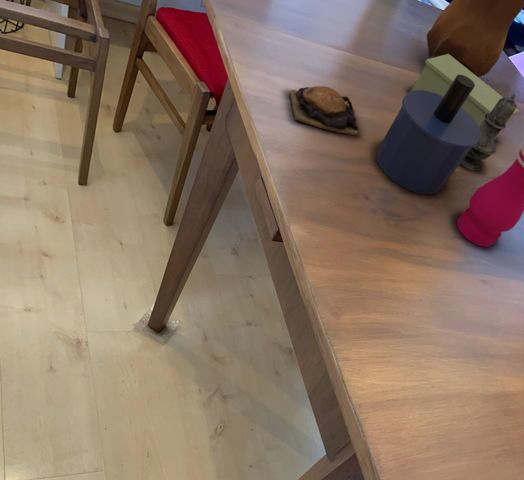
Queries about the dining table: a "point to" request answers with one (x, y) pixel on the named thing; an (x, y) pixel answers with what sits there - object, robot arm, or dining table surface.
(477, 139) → the lid
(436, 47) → the butternut squash
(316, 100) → the pastry on board
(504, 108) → the grey knobbly column
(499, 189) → the pepper mill
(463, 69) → the pale green block
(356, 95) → the dining table surface
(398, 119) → the pot
